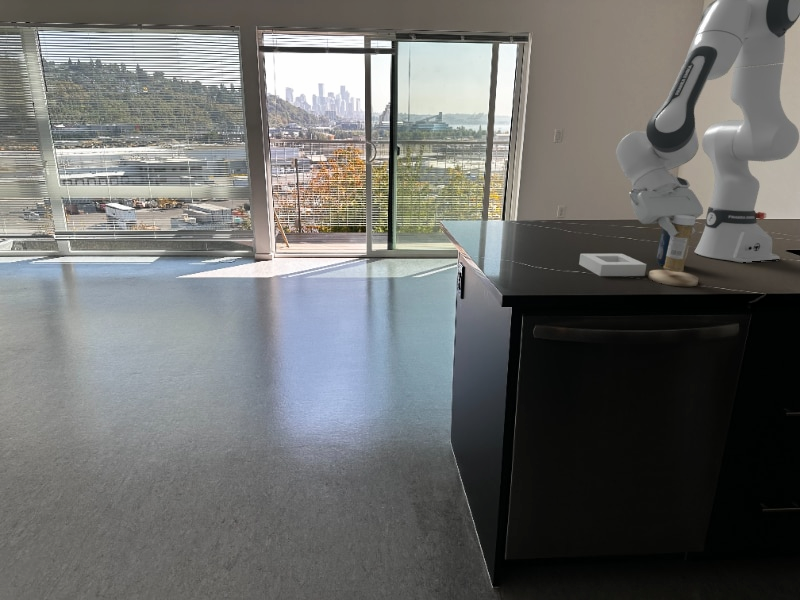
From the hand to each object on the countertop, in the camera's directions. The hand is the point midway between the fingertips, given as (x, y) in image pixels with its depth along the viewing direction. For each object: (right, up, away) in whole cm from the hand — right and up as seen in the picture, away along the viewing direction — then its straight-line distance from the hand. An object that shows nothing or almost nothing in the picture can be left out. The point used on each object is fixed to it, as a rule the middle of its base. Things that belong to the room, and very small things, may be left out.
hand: (683, 234), depth 122 cm
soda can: (+7, -6, +19) cm, 22 cm away
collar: (-12, -8, +12) cm, 19 cm away
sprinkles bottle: (-1, -9, +4) cm, 9 cm away
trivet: (0, -11, +4) cm, 12 cm away
